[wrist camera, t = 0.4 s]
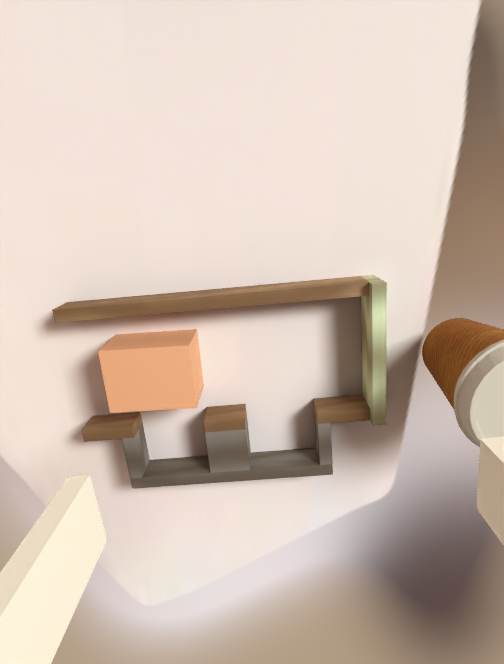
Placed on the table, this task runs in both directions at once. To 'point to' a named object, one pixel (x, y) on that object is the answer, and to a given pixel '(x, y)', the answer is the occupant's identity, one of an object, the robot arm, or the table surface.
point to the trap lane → (231, 420)
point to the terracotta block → (152, 371)
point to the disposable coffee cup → (469, 374)
